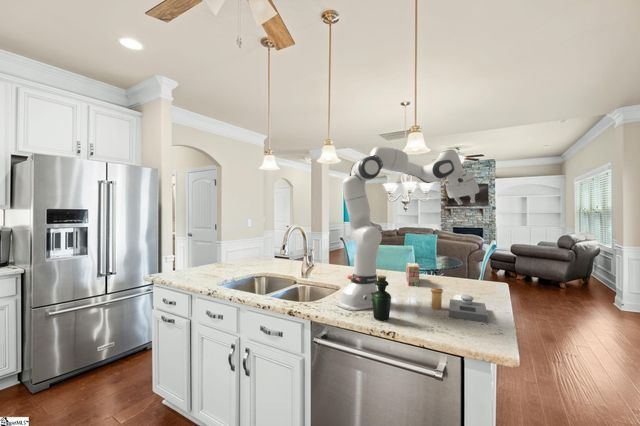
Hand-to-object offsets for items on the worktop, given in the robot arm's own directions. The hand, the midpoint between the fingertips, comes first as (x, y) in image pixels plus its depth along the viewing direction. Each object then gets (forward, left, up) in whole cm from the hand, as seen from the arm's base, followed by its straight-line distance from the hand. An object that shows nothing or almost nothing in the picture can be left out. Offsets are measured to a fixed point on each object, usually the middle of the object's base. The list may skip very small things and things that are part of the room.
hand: (466, 203), depth 160 cm
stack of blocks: (+7, +38, -50) cm, 64 cm away
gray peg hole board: (-21, -12, -50) cm, 56 cm away
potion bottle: (-58, +6, -50) cm, 77 cm away
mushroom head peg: (-26, 0, -50) cm, 57 cm away
